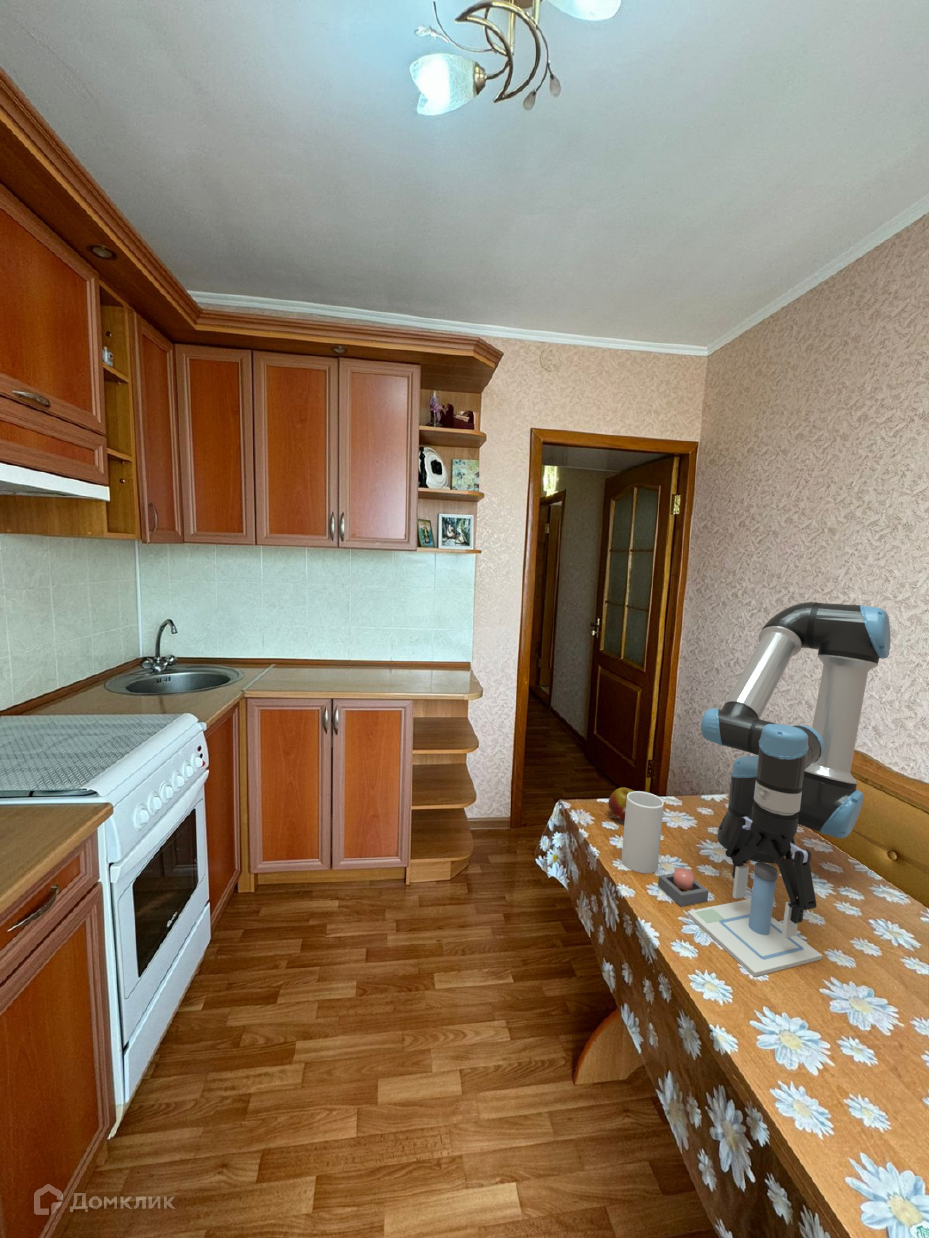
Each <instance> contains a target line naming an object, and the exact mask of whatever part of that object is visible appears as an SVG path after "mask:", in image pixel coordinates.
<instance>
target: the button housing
mask: <svg viewBox="0 0 929 1238" xmlns="http://www.w3.org/2000/svg"><path fill="white" fill-rule="evenodd" d="M673 878H674V872H673V873H672V872H671V873H667V874H660V875H658V882H657V887H659V888H660V889H661V890H662V891H663V892H664V893H665V894H666V895H667V896H668V897H669V898H670V899H672V900H673V901H674V902H675V903H676V904H677V905H678V906H679V907H684V906H689V905H695V904H701V903H705V902H708V901H709V900H708V899H709V890H708V889H707V888H706V887H705V886H703V885H702V884H701V883H700V882H698V881H697V880H696V879H695V878H694V884H693V888H692V889H691V890H685V891H681V890H680V888H679V887H677V886H676V885H675V884H674V883H673Z"/></svg>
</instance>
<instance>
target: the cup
mask: <svg viewBox="0 0 929 1238" xmlns="http://www.w3.org/2000/svg"><path fill="white" fill-rule="evenodd" d="M633 791H634V792H630V793H628V794H627V801H626V812H625V821H624V824H623V825H624V827H623V833H622V834H623V835H622V837H623V838H622V847H621V848H622V849H621V858H620V859H621V862H622V864H623V865H624V867H626V868H627V869H629V870H631V871H632V872H633V871H634V872H636V873H641V874H653V873H655V872H656V871H658V868H659V857H660V849H661V848H660V847H661V836H662V835H661V834H662V828H663V816H664V807H665V806H664V803H665V802H664V800H663V799H662V798H661V797H659V795H655V794H653V793H651V792H647V791H641V790H638V791H637V790H636V791H635V790H633Z"/></svg>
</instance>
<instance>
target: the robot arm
mask: <svg viewBox="0 0 929 1238" xmlns="http://www.w3.org/2000/svg"><path fill="white" fill-rule="evenodd" d="M889 618H890V617H889V615H888V613H887V611H886V610H884V609H883V608H881V607H877V606H876V607H875V606H868V605H863V604H861V605H860V604H858V605H857V604H845V603H844V604H843V603H842V604H841V603H825V602H824V603H823V602H815V601H814V602H813V601H810V602H809V601H808V602H801V603H798V604H794V605H792V606H789V607H786V608H785V609H783V610H781V611H779V612H778V613H777V614H775V615H774V616H772V617H771V618H770V619H769V620H768V621H767V622H766V623H765V624H764V625H763V627H762V629H761V630H760V632H759V633H758V639H757V640H758V642H759V643H758V645H757V647H756V648H755V650H754V651H753V653H752V655H751V656H750V658H749V660H748V663H747V664H746V665H745V667H744V669H743V670H742V673H741V674H740V676H739V678H738V679H737V681H736V683H735V685H734V687H733V689H732V690H731V692H730V694H729V695H728V697H727V699H726V701H725V703H724V704H723V706H722V707H721V709H720V708H714V707H712V708H711V707H710V708H708V709H707V710H705V712H704V713H703V716H702V718H701V723H700V732H701V735H702V737H703V738H704V739H705V740H707V741H709V742H711V743H715V744H717V745H720V746H722V747H723V746H725V747H728V748H731V749H735V750H737V751H742V752H745V753H750V754H753V755H745V756H740V757H738V758H736V759H735V760H734V762H733V765H732V770H731V773H730V785H729V786H730V787H729V794H728V804H727V811H726V813H725V815H724V817H723V818H722V821H721V822H720V824H719V826H718V829H717V836H716V837H717V841H718V842H719V843H720V845H722V847H724V848H726V850H725V852H724V853H725V856H726V857H727V858H730V859H731V862H732V864H733V865H732V873H731V875H732V878H733V879H734V880H733V887H732V888H733V889H732V896H731V897H732V898H734V899H742V898H746V896H747V887H748V880H749V871H750V866H748V865H747V864H748V863H749V862H748V861H750V860H753V861H755V862H763V863H774V864H775V865H776V866H777V867H778V870H779V872H780V875H781V878H782V881H783V884H784V886H785V890H786V892H787V895H788V899H789V901H786V902H785V906H784V907H785V908H784V915H783V921H782V922H783V923H782V925H783V929H782V936H784V937H785V938H788V937H792V936H798V935H797V934H798V928H799V926H798V925H799V924H801V923H802V922H803V919H804V911H808V910H811V909H812V910H813V909H816V908H817V899H816V893H815V886H814V882H813V875H812V871H811V870H812V869H811V859H812V858H811V857H812V853H811V851H810V850H809V849H802V848H801V847H799V846H797V845H796V842H795V836H796V834H797V832H798V825H799V826H802V827H805V828H808V829H811V830H812V831H813V830H814V831H817V833H818V832H819V834H822V835H823V834H824V835H826V836H830V837H833V838H837V839H845V838H847V837H848V836H849V835H850V834H851V832H853V829H854V828H855V825H856V824H857V821H858V819H859V815H860V813H861V810H862V807H863V802H864V798H865V795H864V793H863V792H861V791H860V790H859V789H857V787H858V786H857V785H858V782H857V780H856V778H855V777H854V776H853V775H852V774H851V773H852V772H851V770H852V769H851V768H852V763H853V758H854V755H855V754H854V753H855V749H856V748H855V747H856V741H857V736H858V731H859V726H860V720H861V719H860V718H861V714H862V709H863V703H864V698H865V691H866V686H867V681H868V680H867V679H868V676H869V672H870V671H871V670H873V669H875V668H877V667H878V666H879V663H880V659H882V660H884V659H887V658H889V656H890V649H891V623H890V619H889ZM802 649H810V650H811V649H812V650H818V651H817V656H816V657H817V658H818V659H819V661H820V662H821V663H822V665H823V666H822V670H821V671H822V672H821V677H820V682H819V687H818V693H817V699H816V705H815V710H814V716H813V720H812V726H809V725H805V724H797V725H795V724H794V725H788V724H781V723H777V722H772V721H769V720H764V719H760V718H761V717H762V715H763V713H764V710H765V709H766V706H767V705H768V703H769V702H770V699H771V698H772V695H773V693H774V691H775V690H776V687H777V686H778V684H779V682H780V680H781V678H782V676H783V674H784V672H785V671H786V668H787V666H788V664H789V663H790V660H791V659H792V657H794V656H796V655H797V654H799V653H800V651H801V650H802ZM784 857H785V858H784Z"/></svg>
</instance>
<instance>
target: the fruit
mask: <svg viewBox="0 0 929 1238" xmlns="http://www.w3.org/2000/svg"><path fill="white" fill-rule="evenodd" d="M634 791H635V790H633V789H632V788H631V789H630V788H627V787H619V788H617V789H615V790H614V791H613V792H612V793H611V794H610V795H609V798H608V799H609V800H608V809H609V812H610V813H611V815H612V816H613V817H614V818H616V819H617V820H619V821H623V822H625V812H626V801H627V794H628V793H630V792H634Z"/></svg>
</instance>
